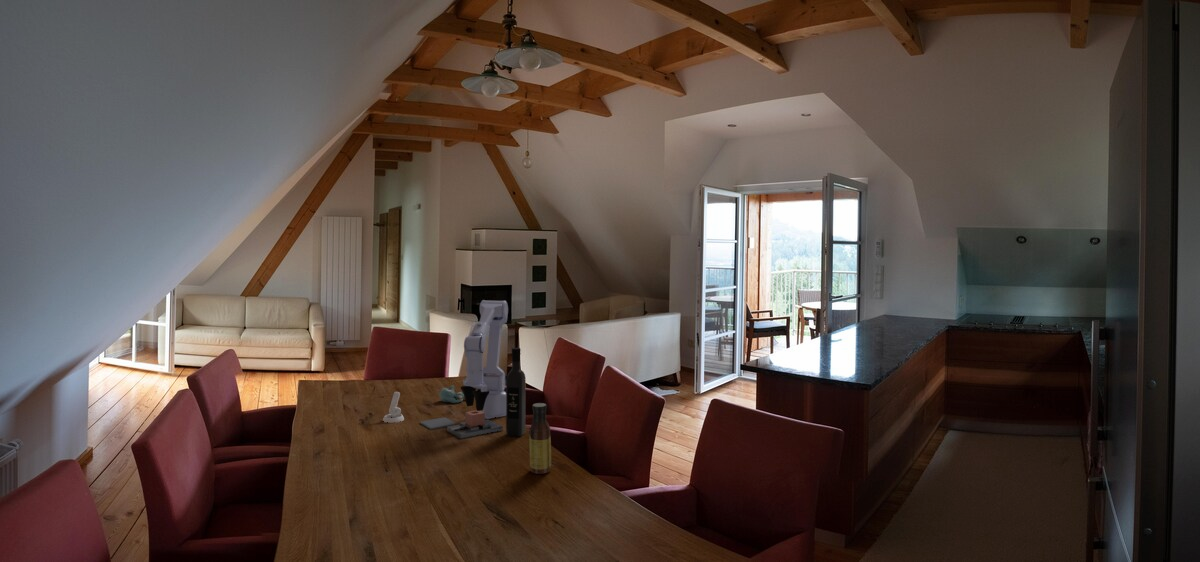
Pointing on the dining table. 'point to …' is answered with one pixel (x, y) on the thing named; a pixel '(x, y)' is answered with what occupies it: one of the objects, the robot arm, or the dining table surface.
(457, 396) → the stuffed animal
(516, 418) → the wine bottle
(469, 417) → the collar block
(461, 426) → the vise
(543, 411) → the sauce bottle
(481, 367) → the robot arm
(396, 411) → the hook
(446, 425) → the mat
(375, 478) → the dining table surface
